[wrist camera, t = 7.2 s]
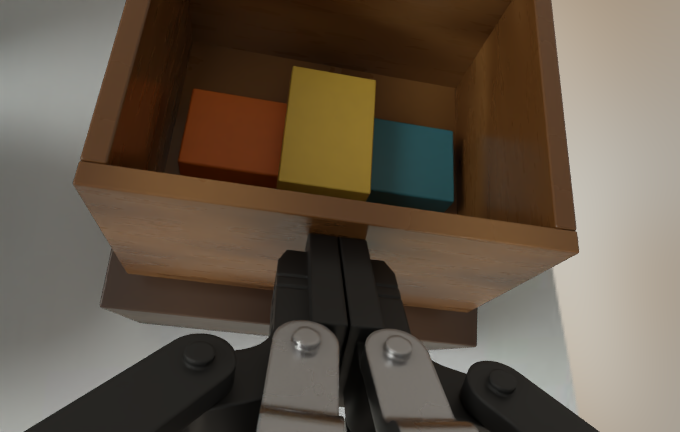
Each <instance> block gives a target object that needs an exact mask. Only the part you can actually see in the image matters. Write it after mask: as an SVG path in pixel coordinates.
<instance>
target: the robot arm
mask: <svg viewBox="0 0 680 432" xmlns="http://www.w3.org/2000/svg"><path fill="white" fill-rule="evenodd" d="M339 407H345V416H346V417H345V421H344V418H343V417H342V416H339ZM24 432H599V431H598V430H596V429H595V428H594V427H592V426H591V425H590V424H588V423H587V422H585V421H584V420H583V419H581V418H580V417H579V416H577V415H576V414H575V413H573V412H572V411H570V410H569V409H568V408H566V407H565V406H564V405H562V404H561V403H560V402H558V401H557V400H555V399H554V398H553V397H551V396H550V395H549V394H547V393H546V392H545V391H543V390H542V389H540V388H539V387H538V386H536V385H535V384H534V383H532V382H531V381H530V380H528V379H527V378H525V377H524V376H523V375H521V374H520V373H519V372H517V371H516V370H514V369H513V368H511V367H509V366H507V365H504V364H502V363H498V362H494V361H480V362H477V363H475V364H473V365H472V366H471V367H470V368H469V370H468V372H467V374H465V373H462V372H459V371H456V370H453V369H450V368H447V367H445V366H442V365H439V364H437V363H435V362H434V361H432V360H431V358H430V355H429V353H428V351H427V349H426V347H425V346H424V344H423V343H422V342H421V341H420V340H418V339H417V338H416V337H414V336H413V335H411V331H410V328H409V324H408V320H407V317H406V313H405V309H404V306H403V302H402V300H401V295H400V291H399V289H398V284H397V280H396V276H395V273H394V272H393V271H392V270H391V268H390V267H389V266H388V265H387V264H386V263H385V262H384V261H381V260H373V259H370V254H369V250H368V245H367V241H366V240H363V239H355V238H347V237H338V238H337V237H336V236H329V235H321V234H313V233H309V234H308V237H307V242H306V247H305V252H303V251H295V250H286V251H285V252H284V254H283V255H282V256H281V257H280V258H279V259H278V264H277V270H276V277H275V283H274V290H273V296H272V303H271V312H270V326H269V338H268V339H267V340H265V341H264V342H262V343H261V344H259V345H257V346H254V347H251V348H247V349H242V350H235V351H234V349H233V347H232V346H231V345H230V344H229V343H228V342H227V341H225V340H224V339H222V338H220V337H217V336H214V335H210V334H190V335H185V336H182V337H180V338H178V339H176V340H174V341H172V342H171V343H169V344H167V345H166V346H164V347H162V348H161V349H159V350H157V351H156V352H154V353H152V354H151V355H149V356H148V357H146V358H144V359H143V360H141V361H139V362H138V363H136V364H134V365H133V366H131V367H129V368H128V369H126V370H125V371H123V372H121V373H120V374H118V375H116V376H115V377H113V378H111V379H110V380H108V381H106V382H105V383H103V384H101V385H100V386H98V387H97V388H95V389H93V390H92V391H90V392H88V393H87V394H85V395H83V396H82V397H80V398H78V399H77V400H75V401H74V402H72V403H70V404H69V405H67V406H65V407H64V408H62V409H60V410H59V411H57V412H55V413H54V414H52V415H51V416H49V417H47V418H46V419H44V420H42V421H41V422H39V423H37V424H36V425H34V426H32V427H31V428H29V429H28V430H26V431H24Z"/></svg>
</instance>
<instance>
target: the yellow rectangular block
mask: <svg viewBox="0 0 680 432" xmlns="http://www.w3.org/2000/svg"><path fill="white" fill-rule="evenodd" d="M375 96H376V80H371V79H366V78H360V77H354V76H348V75H343V74H337V73H331V72H326V71H320V70H314V69H309V68H303V67H297V66H293V67H292V73H291V79H290V85H289V92H288V100H287V108H286V116H285V123H284V131H283V139H282V147H281V155H280V163H279V171H278V178H277V186H276V189H281V190H288V191H295V192H302V193H309V194H316V195H323V196H330V197H337V198H344V199H351V200H358V201H365V202H366V200H367V198H368V197H369V195H370V193H371V174H372V154H373V135H374V115H375Z"/></svg>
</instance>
